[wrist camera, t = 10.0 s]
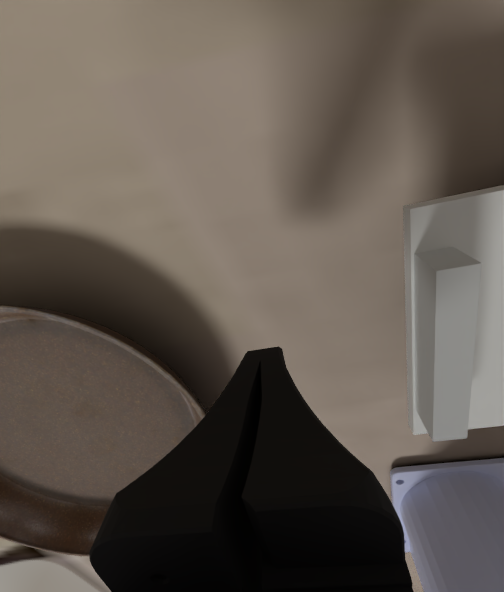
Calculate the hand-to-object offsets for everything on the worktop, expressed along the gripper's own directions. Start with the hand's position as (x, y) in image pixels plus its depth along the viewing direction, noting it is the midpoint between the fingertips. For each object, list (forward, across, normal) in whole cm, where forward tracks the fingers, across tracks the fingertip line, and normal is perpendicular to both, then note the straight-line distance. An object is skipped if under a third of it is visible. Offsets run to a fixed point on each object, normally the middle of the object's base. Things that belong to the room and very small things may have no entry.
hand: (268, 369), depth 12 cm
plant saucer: (+5, +14, +6) cm, 17 cm away
